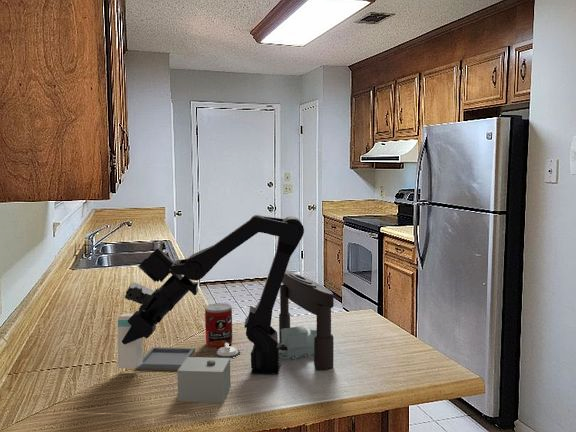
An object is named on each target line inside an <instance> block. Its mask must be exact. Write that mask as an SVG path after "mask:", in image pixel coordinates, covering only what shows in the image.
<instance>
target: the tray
mask: <svg viewBox="0 0 576 432" xmlns="http://www.w3.org/2000/svg"><path fill="white" fill-rule="evenodd" d="M194 353H196V348H195V347H167V346H166V347H162V346H160V347H156V346H154V347H151V348H150V349H149V350H148V351H147V352H146V353H144V355H143V364H141V365H140V366H138V367H137V368H135V369H136V370H157V371H158V370H159V371H160V370H163V371H164V370H165V371H166V370H167V371H168V370H170V371H177V370H178V369H179V368H180V366H181V365H182V364H183V362H184V361H185V360H186V358H187V357H193V356H194V355H195V354H194Z"/></svg>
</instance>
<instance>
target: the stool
mask: <svg viewBox="0 0 576 432" xmlns="http://www.w3.org/2000/svg"><path fill="white" fill-rule="evenodd" d="M279 298H280V299H279V308H280V312H279V315H278V327H279V328H278V336H279V338H278V339H279V340H278V342H280V343H281V342H282V343H281V344H279V351H281V352H279V359H285V360H288V359H291V360H297V358H299V357H304V358H310V356H314V357H313V360H314V361H313V362H314V363H313V364H314V365H313V366H314V369H315V370H317V371H321V370H322V371H323V370H324V371H325V370H329V369H333V368H334V358H335V357H334V352H335V351H334V343H335V342H334V335H333V333H332V309H333V308H334V306H335V305H334V304H335V303H334V301H335V300H334V293H333V291H331V290H330V289H328V288H327V287H325V286H323V285H321V284H320V283H318V282H316V281H314V280H313V279H309V278H307V277H305V276H303V275H301V274H298V273H295V272H292V271H290V270H287V269H286V271H285V274H284V277H283V280H282V283H281V286H280V289H279ZM289 300H290V301H291V302H292V303H294V304H295V305H297V306H299V307H300V308H301V309H303V310H305V311H306V312H308V313H311V314H314V315H315V316H316V327H311V328H310V332H308V330H307V328H306V327H305V326H303V325H299V326H292V327H291V313H290V312H289V309H290V307H289V305H290V304H289V303H290V301H289Z"/></svg>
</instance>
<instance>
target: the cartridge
mask: <svg viewBox="0 0 576 432" xmlns="http://www.w3.org/2000/svg"><path fill="white" fill-rule="evenodd" d="M133 314H134V313H123V314H121V315H118V317H117V368H118V369H136V368H137V367H138V366H140V365H141V364H143V356H144V355H143V351H144V350H143V349H144V348H143V341H144V337H142V338H140V339H137V340H135V341H132V342H130V343H128V344H125V345H124V344H123V343H122V340H123V338H124V337H125V335H126V334H127V332H128V330H129V329H130V327H131V325H130V324H129V323H128V319H129V318H130V317H131V316H132V315H133Z"/></svg>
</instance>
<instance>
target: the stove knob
mask: <svg viewBox="0 0 576 432" xmlns="http://www.w3.org/2000/svg"><path fill="white" fill-rule="evenodd" d="M240 353H241V351H240V350H239V349H237V348H236V347H234V346H231V345H230V346H229V344H228V343H225V347H222V348H217V350H215V351H214V353H213V355H214V357H216V356H217V357H216V358H232V359H234V358H233V357H236V356H238V355H241V354H240ZM238 357H239V356H238ZM236 358H237V357H236Z"/></svg>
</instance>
